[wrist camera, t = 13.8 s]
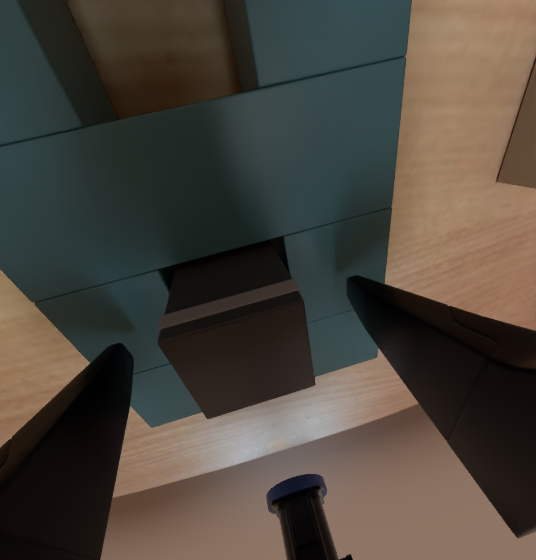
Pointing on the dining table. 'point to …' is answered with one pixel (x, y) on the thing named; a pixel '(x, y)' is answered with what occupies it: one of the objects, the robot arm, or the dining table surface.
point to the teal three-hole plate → (201, 176)
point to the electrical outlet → (522, 143)
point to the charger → (237, 329)
